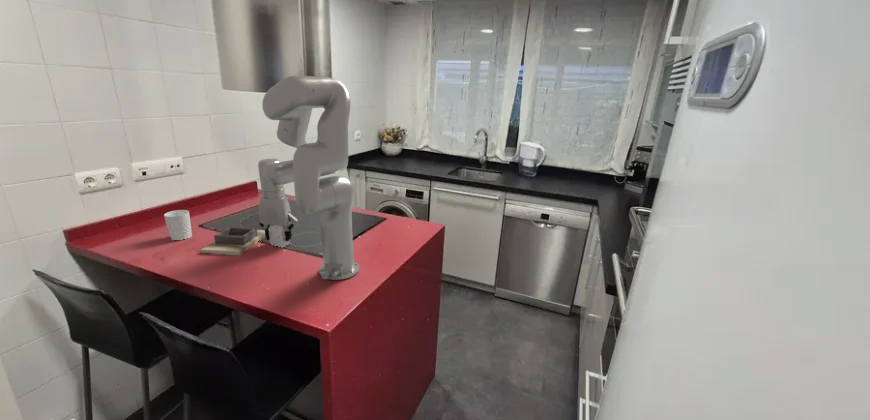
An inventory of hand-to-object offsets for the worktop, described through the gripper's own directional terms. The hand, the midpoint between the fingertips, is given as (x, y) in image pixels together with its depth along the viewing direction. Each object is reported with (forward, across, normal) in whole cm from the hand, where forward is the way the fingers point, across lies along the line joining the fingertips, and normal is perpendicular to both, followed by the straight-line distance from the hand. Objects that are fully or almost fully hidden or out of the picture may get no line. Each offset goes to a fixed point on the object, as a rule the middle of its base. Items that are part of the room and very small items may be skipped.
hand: (278, 238), depth 137 cm
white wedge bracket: (+2, 0, 0) cm, 2 cm away
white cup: (+3, -40, +1) cm, 40 cm away
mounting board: (+2, -16, -1) cm, 16 cm away
